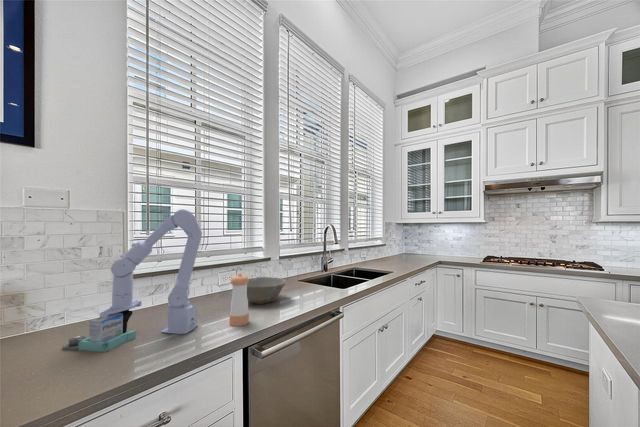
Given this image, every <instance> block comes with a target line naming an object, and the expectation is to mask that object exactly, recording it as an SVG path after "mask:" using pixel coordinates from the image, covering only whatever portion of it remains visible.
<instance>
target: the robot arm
mask: <svg viewBox="0 0 640 427" xmlns="http://www.w3.org/2000/svg"><path fill="white" fill-rule="evenodd" d="M179 228H180V229H182V230H183V232H184V233H185V235H187V240H186V243H185V247H184V251H183V254H182V258H181V261H180V264H179V265H180V266H179V270H178V272H177V277H176V279H175V283H174V286H173V287H172V289H171V292H170V293H169V294H168V297H167V302H168V305H167V325H166V326H167V327H166V328H164V329H162V330H161V333H166V334H176V335H177V334H178V335H179V334H180V335H186V334H188V333H189V332H191V331H192V330H194V329H195V328H197V327H198V326H199V324H198V308H197V306H196V305H194V304H193V305H192V304H191V302H190V301H189V299H188V298H189V295H190V292H191V291H190V286H189V285H190V282H191V277H192V274H193V270H194V266H195V262H196V258H197V255H198V252H199V246H200V243H201V239H202V236H203V232H202V230H201V227H200V224H199V222H198V220H197V217H196V216H195V215H194V214H193V213H192V212H191V211H189V210H188V209H183V208H182V209H178V210H177V211H175V212H174V214H172V215H170V216H168V218H166V219H165V220H164V221H163V222H162V223H161V224H160V225H158V227H157V228H156V229H155V230H154V231H152V232H151V234H149V236H148V237H147V238H145V240H140V241H137V242H134V243H132V244H131V248H130V249H128V250H127V251H126V252H125V253H122V254H121V255H120V259H117V260H115V261H114V262H113V263H112V265H111V266H110V272H111V273H112V275H113V277H112V278H113V279H112V295H111V296H112V300H111V306H110V308H107V309H105V310H104V311H102V312H99V318H104V319H105V318H108V316H111V315H114V314H116V313H122V314H123V334H124V333H126V332H128V331H127V329H128V323H129V320H130V318H131V316H132V315H133V310H132V309H135V308H137V307H138V308H139V307H142V302H143V300H141V299H140V300H133V299H134V298H133V296H134V295H133V294H134V293H133V292H134V271H135V270H136V268H137V266H139V265H140V264H141V263H142V262H143V261H144V260H145V259H147V257H149V255H150V254H151V253H152V252H153V246H154V245H155V244H157V242H158V241H159V240H161V239H162V238H163V237H164V236H165V235H166V234H168V232H170V231H171V230H175V229H179Z"/></svg>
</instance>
